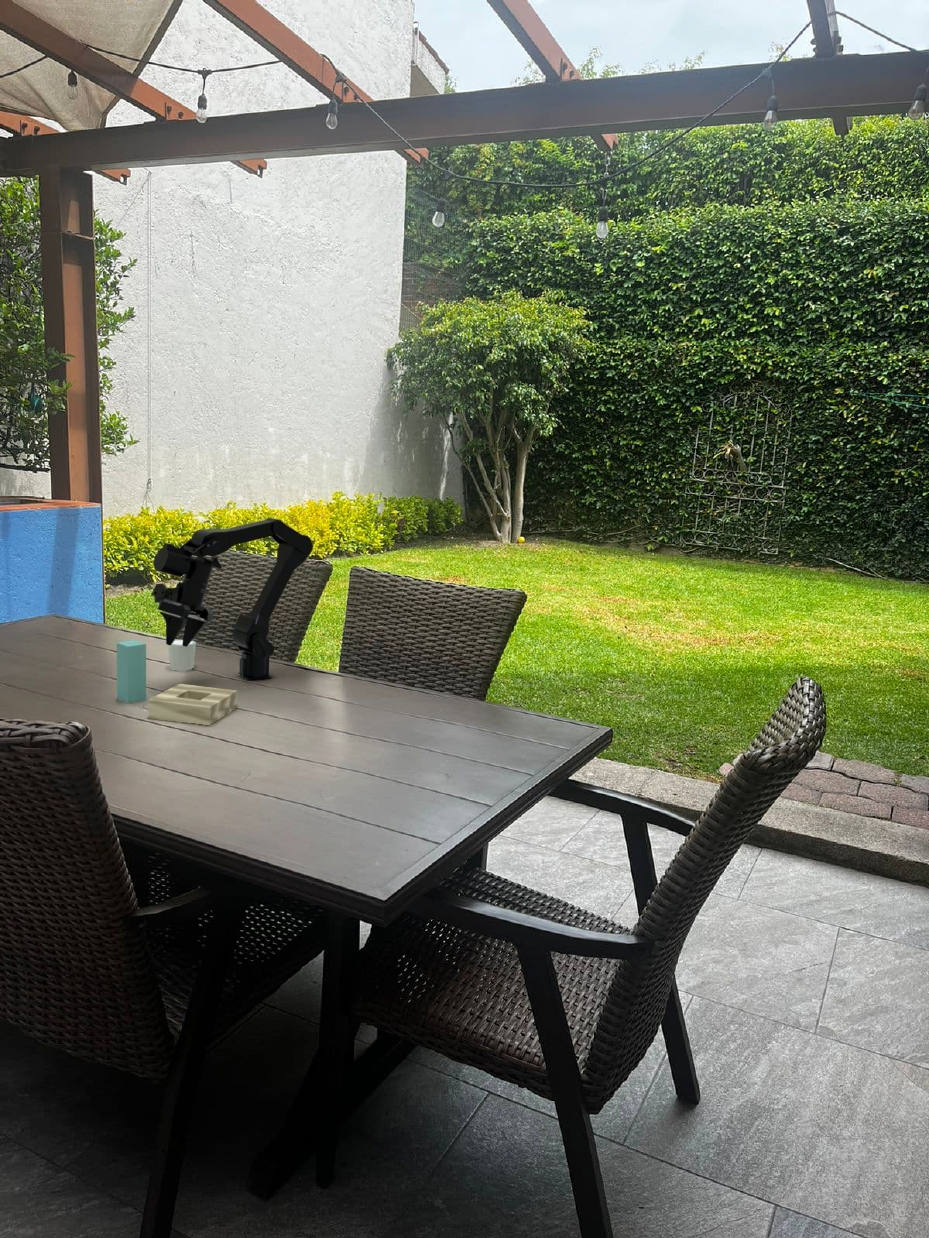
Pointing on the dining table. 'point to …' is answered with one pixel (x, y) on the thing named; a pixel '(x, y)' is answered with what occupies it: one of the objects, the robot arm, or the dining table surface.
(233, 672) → the dining table surface
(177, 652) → the white short cylinder
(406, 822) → the dining table surface
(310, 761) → the dining table surface
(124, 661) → the peg
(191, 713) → the pocket block
